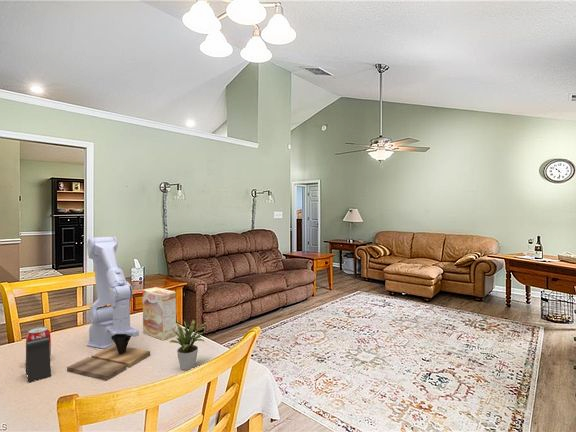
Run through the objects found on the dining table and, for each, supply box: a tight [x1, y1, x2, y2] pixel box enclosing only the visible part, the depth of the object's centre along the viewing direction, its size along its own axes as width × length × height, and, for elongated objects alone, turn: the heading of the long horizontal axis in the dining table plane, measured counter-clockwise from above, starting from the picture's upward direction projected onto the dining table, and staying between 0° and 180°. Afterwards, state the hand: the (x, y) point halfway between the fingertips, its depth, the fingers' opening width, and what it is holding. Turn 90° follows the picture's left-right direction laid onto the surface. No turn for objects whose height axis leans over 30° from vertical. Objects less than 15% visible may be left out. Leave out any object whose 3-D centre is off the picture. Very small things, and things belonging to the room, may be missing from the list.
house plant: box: [169, 319, 209, 371], centre depth 113 cm, size 14×14×16 cm
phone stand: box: [25, 337, 52, 383], centre depth 109 cm, size 9×6×12 cm, turn 43°
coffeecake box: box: [142, 286, 177, 341], centre depth 144 cm, size 15×7×20 cm, turn 55°
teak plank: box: [90, 344, 151, 368], centre depth 122 cm, size 18×10×2 cm, turn 70°
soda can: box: [25, 326, 52, 358], centre depth 118 cm, size 7×7×12 cm
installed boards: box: [66, 356, 127, 381], centre depth 112 cm, size 18×8×2 cm, turn 70°
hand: (122, 353), depth 122 cm, fingers closed, pressing on teak plank
